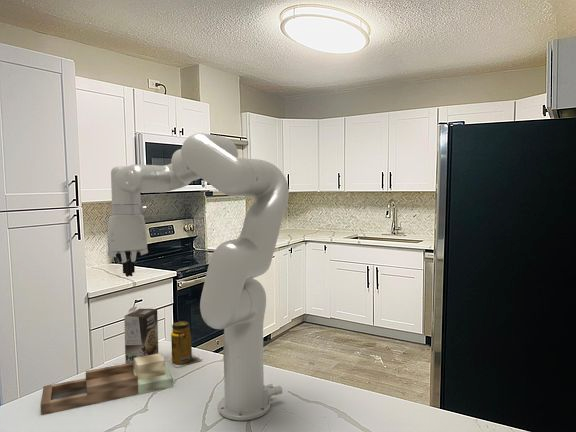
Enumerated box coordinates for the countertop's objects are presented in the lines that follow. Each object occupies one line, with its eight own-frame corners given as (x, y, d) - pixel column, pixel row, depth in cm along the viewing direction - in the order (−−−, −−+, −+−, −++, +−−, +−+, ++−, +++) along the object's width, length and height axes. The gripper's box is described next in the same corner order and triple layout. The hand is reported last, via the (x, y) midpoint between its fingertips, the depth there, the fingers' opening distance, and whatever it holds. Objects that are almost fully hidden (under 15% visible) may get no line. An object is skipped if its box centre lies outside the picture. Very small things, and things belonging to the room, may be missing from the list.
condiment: (167, 360, 134) (166, 322, 133) (192, 354, 139) (191, 317, 138) (176, 368, 128) (175, 328, 127) (202, 361, 133) (201, 323, 132)
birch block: (160, 366, 123) (160, 353, 123) (164, 374, 118) (164, 360, 117) (134, 371, 120) (134, 357, 119) (138, 380, 114) (137, 365, 114)
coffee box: (144, 370, 127) (142, 316, 126) (124, 368, 128) (123, 315, 127) (159, 358, 135) (158, 308, 135) (141, 357, 137) (139, 307, 136)
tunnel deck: (165, 371, 125) (164, 356, 125) (173, 386, 116) (172, 370, 115) (43, 395, 111) (43, 378, 111) (41, 415, 102) (40, 396, 101)
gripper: (152, 209, 127) (153, 271, 128) (96, 211, 120) (99, 276, 121) (156, 210, 120) (158, 275, 121) (98, 212, 113) (100, 280, 114)
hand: (128, 275), depth 121 cm, fingers closed
